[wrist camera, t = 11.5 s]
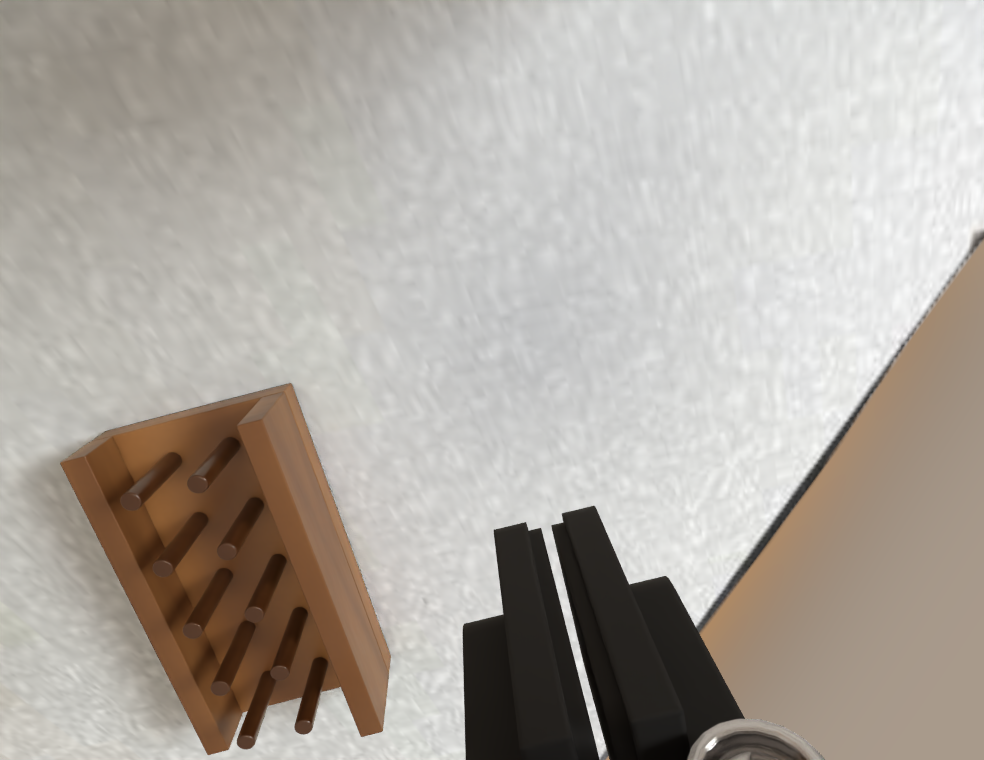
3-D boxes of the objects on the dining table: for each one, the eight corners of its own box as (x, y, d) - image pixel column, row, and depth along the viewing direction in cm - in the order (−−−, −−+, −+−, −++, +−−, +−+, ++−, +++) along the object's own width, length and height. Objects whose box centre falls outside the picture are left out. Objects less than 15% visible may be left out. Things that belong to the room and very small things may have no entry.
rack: (291, 382, 32) (258, 423, 26) (391, 656, 37) (382, 740, 32) (105, 430, 32) (31, 482, 26) (231, 698, 37) (193, 789, 32)
